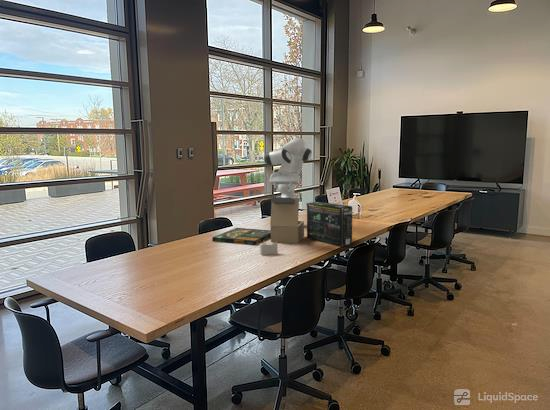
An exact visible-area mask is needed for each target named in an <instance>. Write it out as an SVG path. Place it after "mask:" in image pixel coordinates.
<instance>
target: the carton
mask: <svg viewBox="0 0 550 410" xmlns="http://www.w3.org/2000/svg"><path fill="white" fill-rule="evenodd" d="M270 230H271V237H270V243H275V242H276V243H281V244H282V243H283V244H287V243H288V244H299V243H300V242H301V241H302V240H303V239H304V237H305V221H304V220H298V226H271V225H270Z"/></svg>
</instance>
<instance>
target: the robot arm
mask: <svg viewBox="0 0 550 410" xmlns="http://www.w3.org/2000/svg"><path fill="white" fill-rule="evenodd" d="M305 144H306V142H305V140H304V139H303V138H300V137H296V138H294V139H291V140H290V141H288V142H287V143H286V144H284V145H283V146H281V147H280V148H278V149H276V150H273V151H269V152H266V153H265V155H264V158H263V160H264V163H265V165H267V166H268V167H273V166H276V165H280V167H279V168H276V169H273V170H272V173H271V175H270V177H269V184H270V185H274V187H273V188H274V189H275V190H277V191H278V192H279V193H280V194H281V197H284V198H295V191H296V190H295V189H296V184H298V181H299V176H300V173H301V171H302V168H303V165H304V163H305V162H308V161H310V159H311V157H312V153H313V152H312V150H311V149H310V148H307V147H306V146H305Z"/></svg>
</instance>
